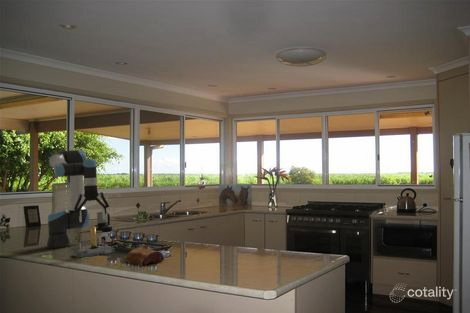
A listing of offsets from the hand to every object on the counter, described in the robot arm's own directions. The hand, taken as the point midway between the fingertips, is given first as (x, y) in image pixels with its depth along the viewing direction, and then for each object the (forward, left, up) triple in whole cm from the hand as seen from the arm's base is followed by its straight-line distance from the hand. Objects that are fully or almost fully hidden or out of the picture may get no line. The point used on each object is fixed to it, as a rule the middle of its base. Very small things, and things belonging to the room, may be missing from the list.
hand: (92, 220), depth 270 cm
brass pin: (0, 0, -20) cm, 20 cm away
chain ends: (0, 0, -20) cm, 20 cm away
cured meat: (+42, +16, -21) cm, 49 cm away
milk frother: (-116, +32, -20) cm, 122 cm away
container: (-22, +14, -20) cm, 33 cm away
